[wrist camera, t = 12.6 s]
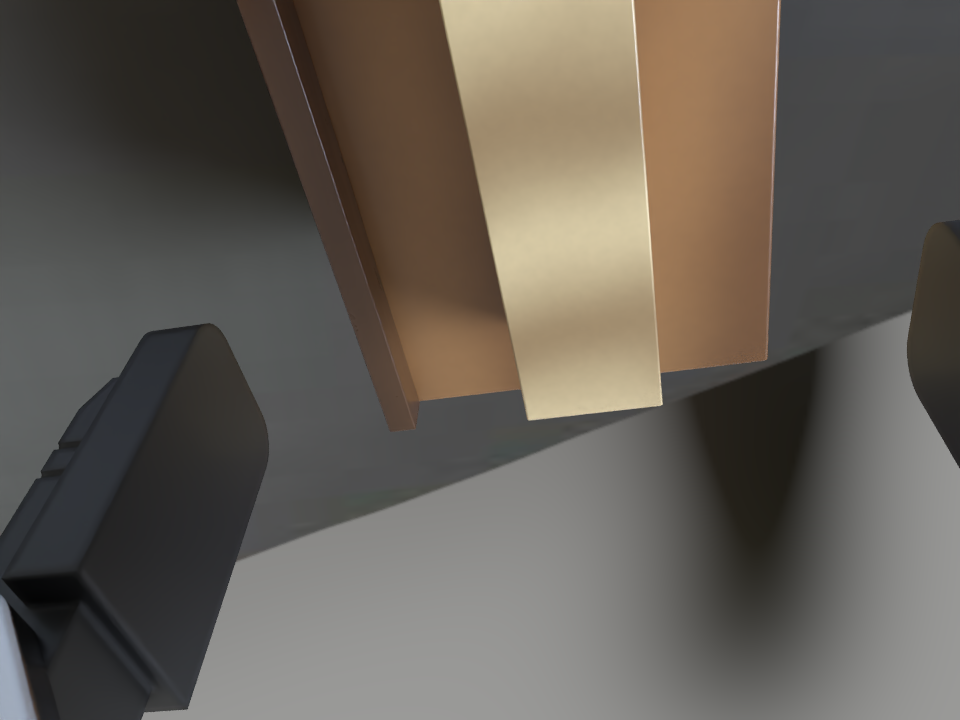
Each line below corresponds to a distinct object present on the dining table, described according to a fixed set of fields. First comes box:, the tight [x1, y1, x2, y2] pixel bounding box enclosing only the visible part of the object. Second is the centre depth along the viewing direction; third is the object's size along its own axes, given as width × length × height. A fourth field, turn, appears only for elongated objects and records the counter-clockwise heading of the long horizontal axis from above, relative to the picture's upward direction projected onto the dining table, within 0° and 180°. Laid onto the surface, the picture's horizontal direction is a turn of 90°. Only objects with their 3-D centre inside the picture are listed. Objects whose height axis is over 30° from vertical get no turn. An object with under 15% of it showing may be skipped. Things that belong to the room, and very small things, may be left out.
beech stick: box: [439, 0, 662, 420], centre depth 16 cm, size 15×3×4 cm, turn 11°
